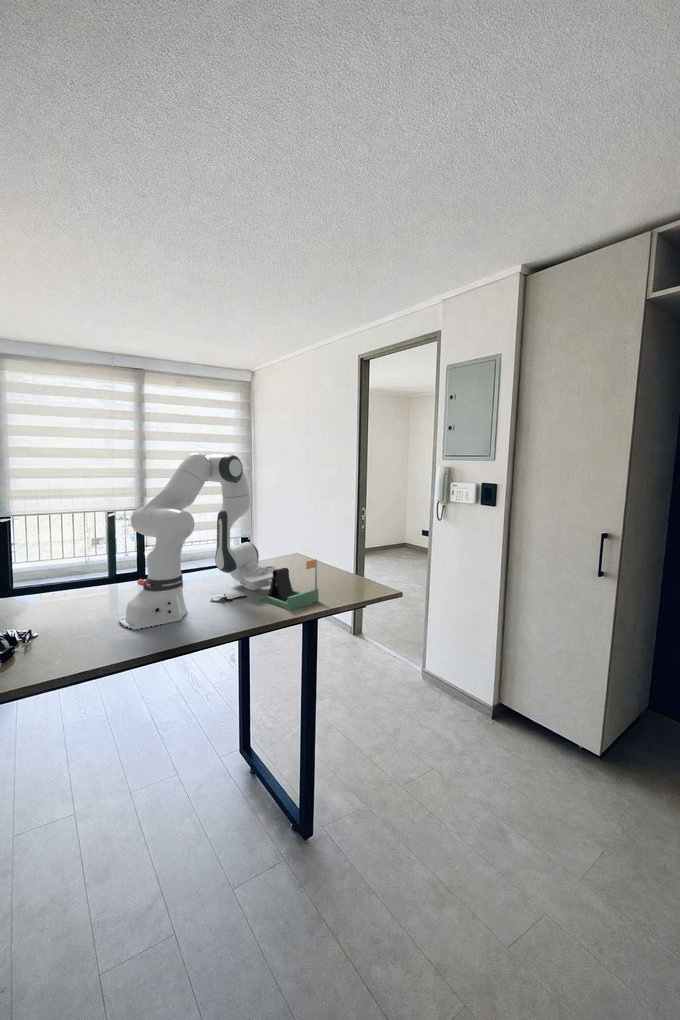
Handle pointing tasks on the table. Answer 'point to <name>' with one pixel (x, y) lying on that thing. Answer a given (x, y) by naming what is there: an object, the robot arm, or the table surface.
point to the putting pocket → (297, 594)
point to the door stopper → (281, 585)
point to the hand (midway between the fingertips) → (279, 583)
